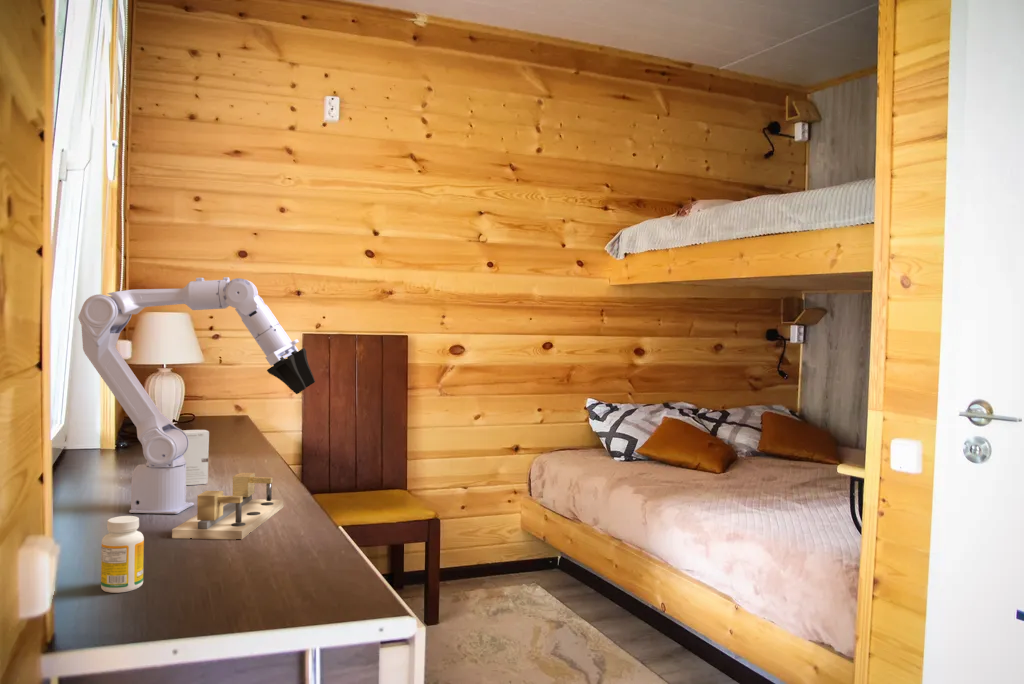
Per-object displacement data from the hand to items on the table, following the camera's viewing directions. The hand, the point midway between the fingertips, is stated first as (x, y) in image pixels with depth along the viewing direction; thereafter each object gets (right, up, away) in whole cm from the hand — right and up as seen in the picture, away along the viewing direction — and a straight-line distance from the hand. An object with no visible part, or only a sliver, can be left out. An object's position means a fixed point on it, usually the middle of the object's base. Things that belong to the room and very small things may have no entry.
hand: (306, 388), depth 160 cm
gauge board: (-11, -24, -11) cm, 29 cm away
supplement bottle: (-13, -25, -48) cm, 56 cm away
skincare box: (-31, -23, +22) cm, 45 cm away
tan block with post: (-10, -22, -3) cm, 24 cm away
